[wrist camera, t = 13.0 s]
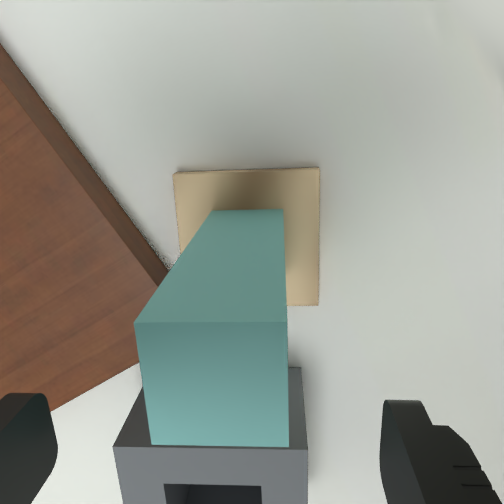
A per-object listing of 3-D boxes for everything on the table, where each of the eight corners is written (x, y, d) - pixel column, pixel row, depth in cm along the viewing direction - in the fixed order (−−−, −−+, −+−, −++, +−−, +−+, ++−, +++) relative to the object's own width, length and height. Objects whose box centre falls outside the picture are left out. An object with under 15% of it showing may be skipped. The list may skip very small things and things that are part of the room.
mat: (318, 167, 23) (319, 169, 22) (316, 298, 25) (318, 305, 24) (176, 172, 23) (172, 174, 22) (189, 299, 26) (186, 306, 25)
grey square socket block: (300, 367, 27) (307, 450, 20) (301, 483, 30) (307, 587, 24) (152, 367, 28) (112, 446, 21) (168, 480, 31) (137, 580, 24)
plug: (283, 208, 23) (287, 322, 10) (284, 275, 24) (288, 446, 12) (211, 210, 23) (133, 322, 11) (216, 276, 24) (151, 444, 12)
